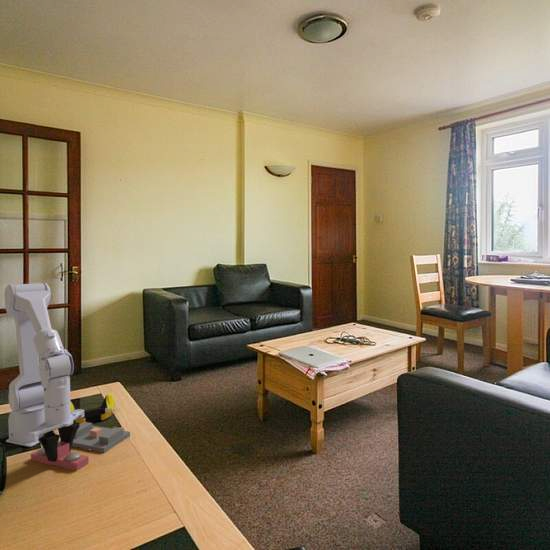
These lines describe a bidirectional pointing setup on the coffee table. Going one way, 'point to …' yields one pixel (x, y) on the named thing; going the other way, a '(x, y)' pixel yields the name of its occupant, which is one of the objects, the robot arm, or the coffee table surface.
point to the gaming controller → (97, 411)
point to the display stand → (98, 437)
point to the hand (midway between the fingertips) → (59, 456)
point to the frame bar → (62, 457)
